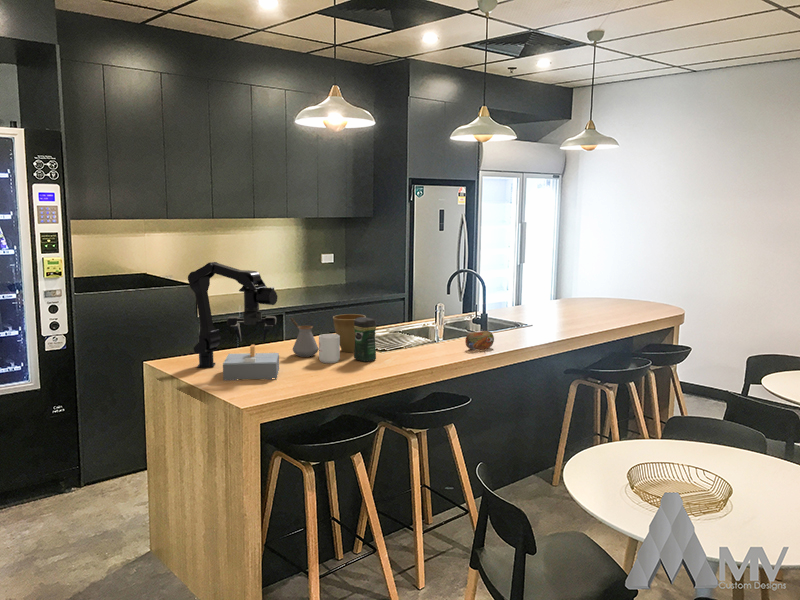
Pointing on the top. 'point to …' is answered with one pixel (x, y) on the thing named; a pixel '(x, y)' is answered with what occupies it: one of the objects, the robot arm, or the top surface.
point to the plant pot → (346, 330)
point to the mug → (329, 348)
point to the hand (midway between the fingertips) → (252, 342)
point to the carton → (250, 371)
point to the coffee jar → (364, 339)
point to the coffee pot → (304, 341)
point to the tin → (479, 340)
